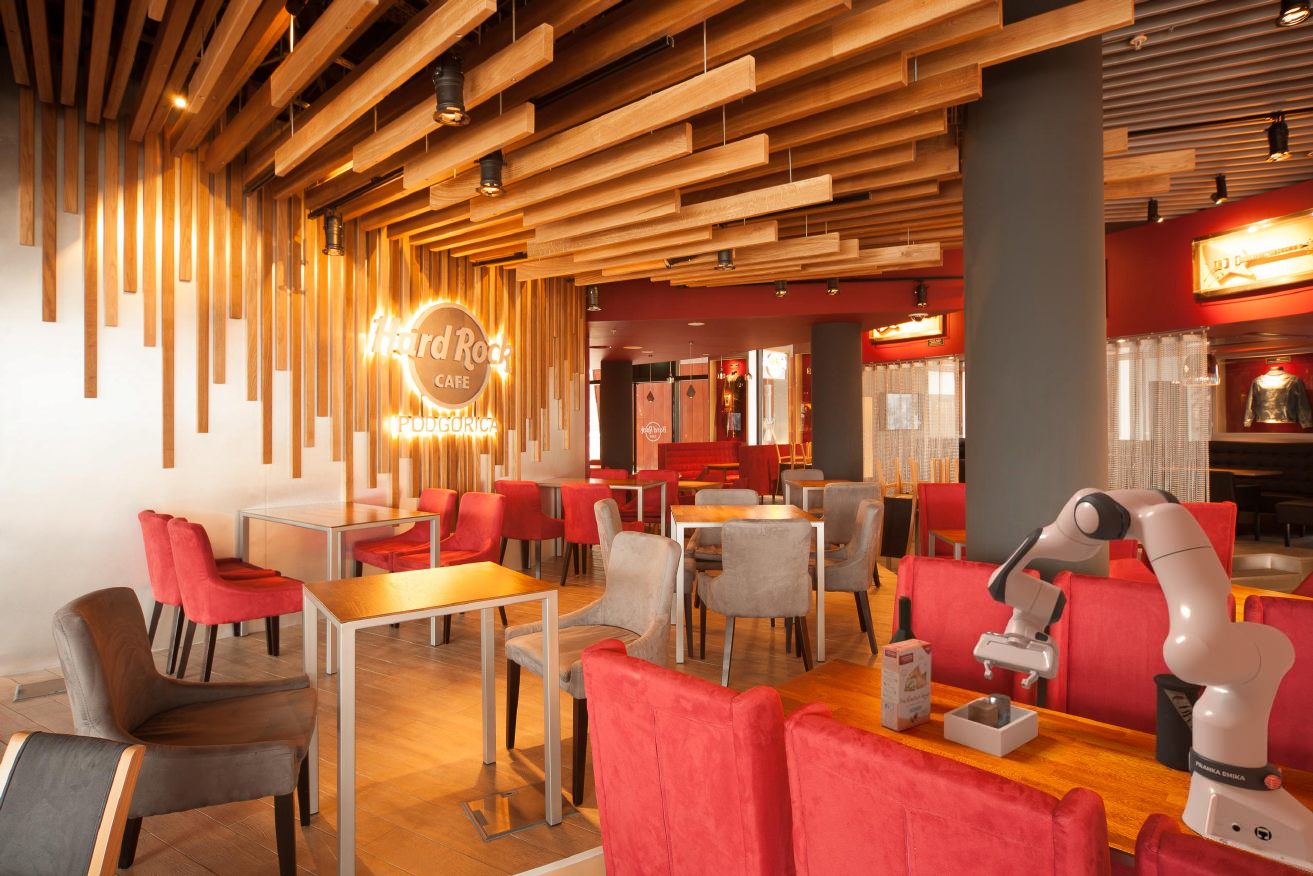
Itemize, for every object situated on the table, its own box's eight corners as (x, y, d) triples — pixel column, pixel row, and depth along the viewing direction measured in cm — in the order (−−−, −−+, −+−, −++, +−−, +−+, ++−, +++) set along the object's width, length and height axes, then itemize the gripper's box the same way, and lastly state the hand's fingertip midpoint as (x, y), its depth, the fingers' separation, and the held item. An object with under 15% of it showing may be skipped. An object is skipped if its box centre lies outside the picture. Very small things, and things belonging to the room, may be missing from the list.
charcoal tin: (1010, 727, 181) (1010, 695, 181) (1010, 734, 177) (1010, 702, 177) (989, 723, 183) (989, 692, 184) (988, 730, 179) (988, 698, 179)
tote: (1037, 736, 178) (1037, 712, 178) (1000, 757, 166) (1000, 731, 166) (982, 719, 189) (982, 696, 189) (944, 738, 176) (944, 714, 176)
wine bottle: (882, 699, 203) (883, 595, 204) (904, 695, 207) (905, 592, 207) (904, 709, 196) (904, 600, 196) (926, 705, 199) (927, 598, 200)
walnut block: (997, 738, 174) (997, 705, 174) (988, 743, 171) (988, 710, 171) (977, 732, 178) (977, 700, 178) (968, 737, 175) (968, 704, 175)
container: (1182, 774, 158) (1182, 684, 158) (1144, 757, 166) (1144, 672, 167) (1211, 770, 160) (1211, 681, 160) (1172, 753, 169) (1172, 669, 169)
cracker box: (899, 733, 179) (899, 650, 179) (879, 726, 184) (880, 645, 184) (932, 721, 187) (932, 642, 187) (912, 714, 192) (912, 637, 192)
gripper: (979, 623, 196) (962, 665, 189) (1059, 639, 180) (1043, 685, 173) (987, 637, 198) (970, 679, 192) (1066, 653, 183) (1051, 700, 176)
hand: (1005, 682), depth 182 cm, fingers open, 8 cm apart
